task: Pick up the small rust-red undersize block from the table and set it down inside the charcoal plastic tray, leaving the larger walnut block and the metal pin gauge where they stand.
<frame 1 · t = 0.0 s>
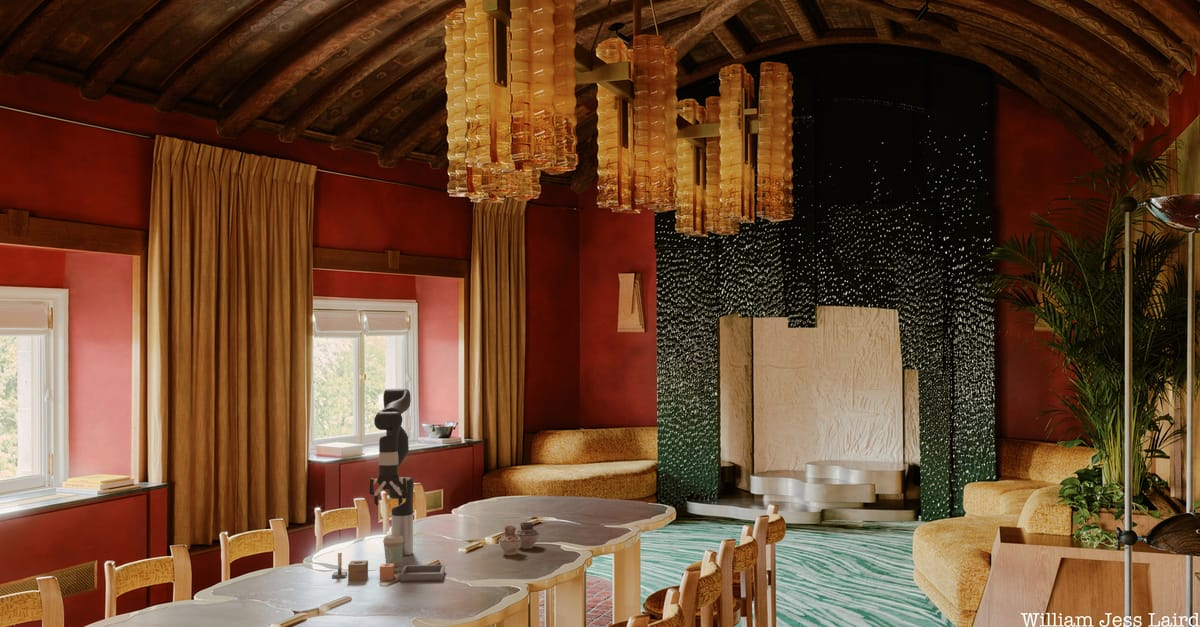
hand: (388, 505, 356), 29 cm above the table, tool pointing down, fingers open, 8 cm apart
coffee cup: (393, 566, 379), on the table
tray: (422, 577, 361), on the table
pin gauge stand: (339, 576, 363), on the table
undersize block: (387, 577, 360), on the table
pottery: (519, 551, 406), on the table
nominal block: (358, 579, 358), on the table
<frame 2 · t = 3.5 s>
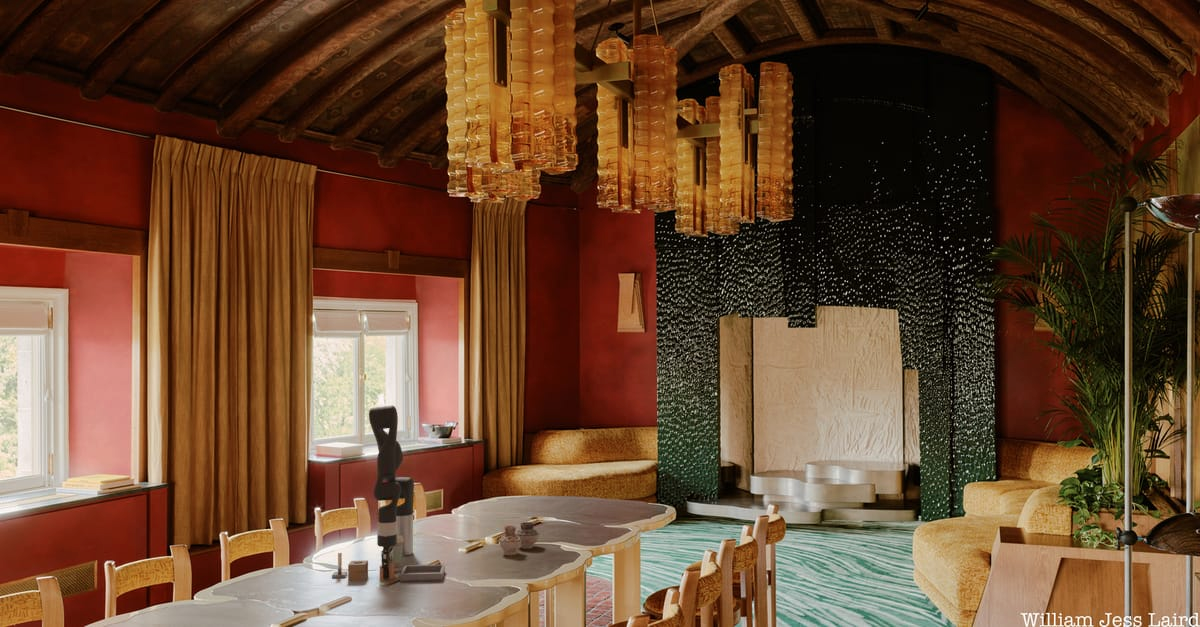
hand: (387, 576, 360), 0 cm above the table, tool pointing down, fingers closed on undersize block, 5 cm apart
undersize block: (387, 577, 360), on the table, touching gripper
everything else where it was.
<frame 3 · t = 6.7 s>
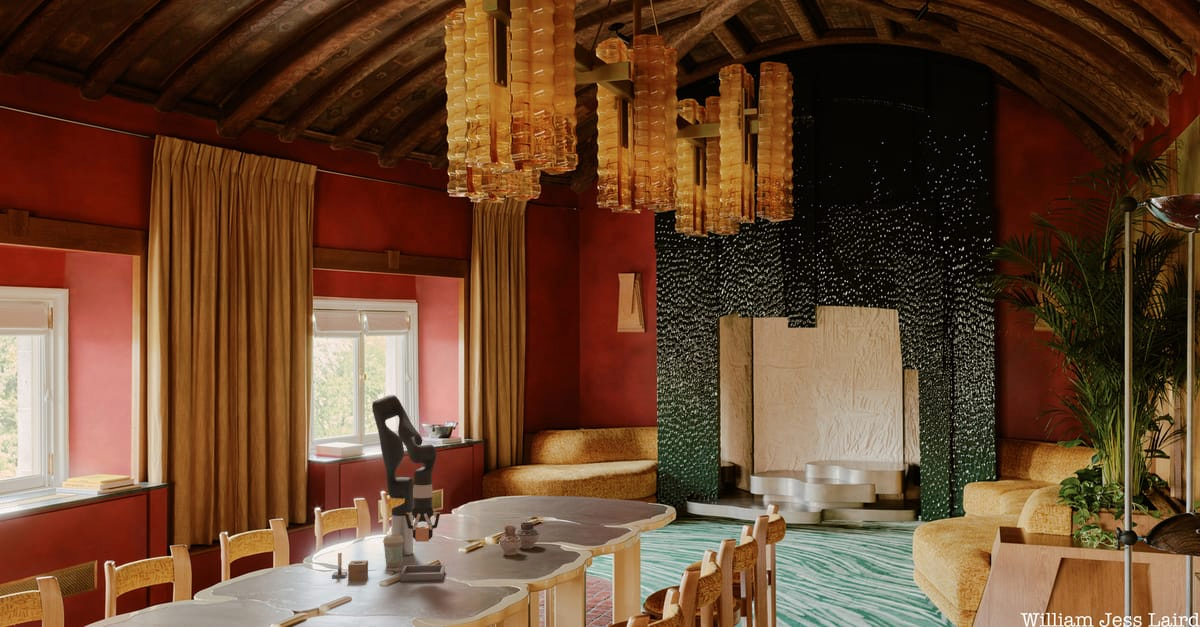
hand: (422, 538, 361), 15 cm above the table, tool pointing down, fingers closed on undersize block, 5 cm apart
undersize block: (422, 540, 361), point 14 cm above the table, touching gripper
everything else where it was.
when the fingers open (3 cm above the table, at t = 9.7 s): undersize block drops 2 cm, resting on tray.
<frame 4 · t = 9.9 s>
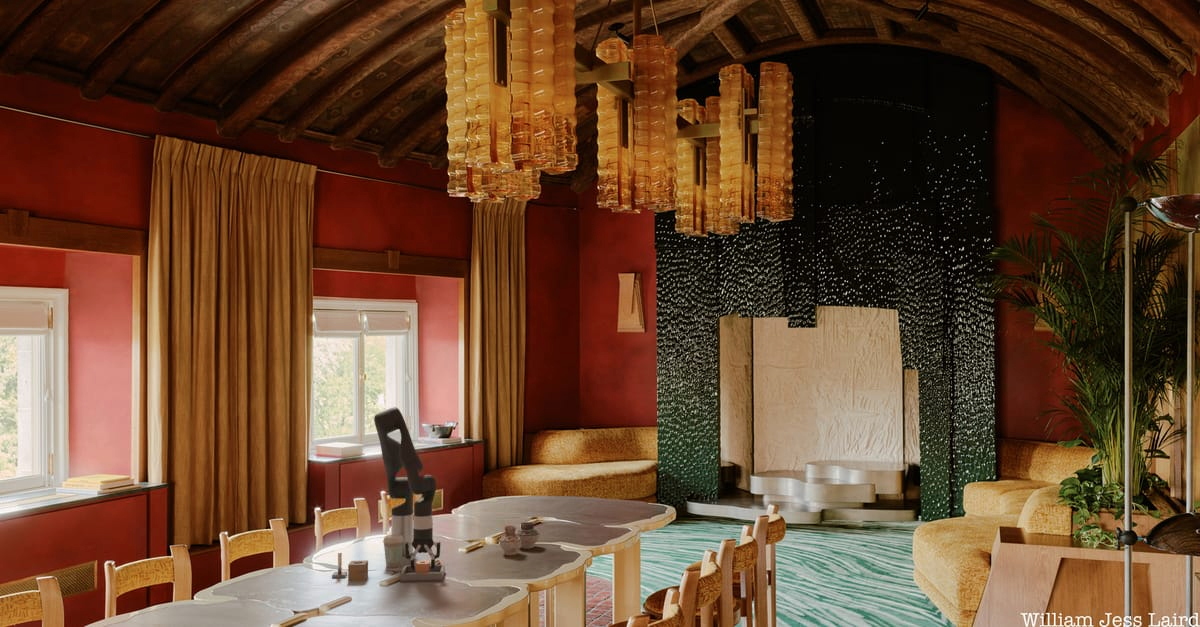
hand: (422, 568, 361), 3 cm above the table, tool pointing down, fingers open, 6 cm apart
undersize block: (422, 575, 361), point 1 cm above the table, touching tray
everything else where it was.
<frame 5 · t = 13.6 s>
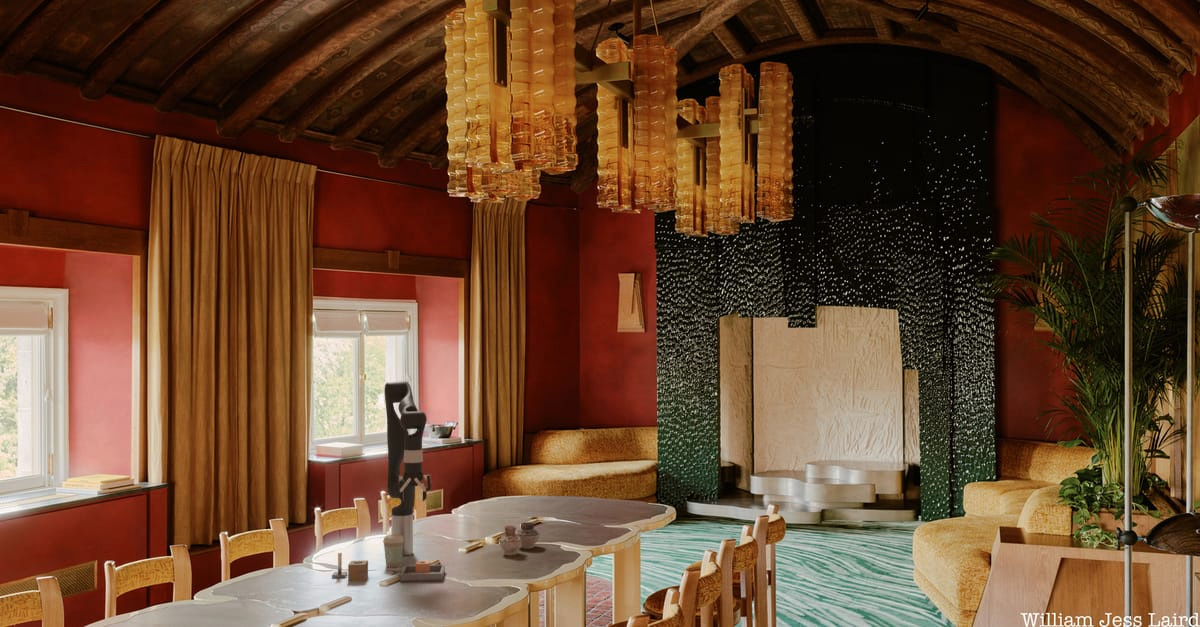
hand: (413, 500, 372), 28 cm above the table, tool pointing down, fingers open, 8 cm apart
nothing on the table moved.
at the end: undersize block inside the target area on the tray (0.1 cm from its centre), point 0.8 cm above the tray's base; the gripper is holding nothing; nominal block moved 0.1 cm from its start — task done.
